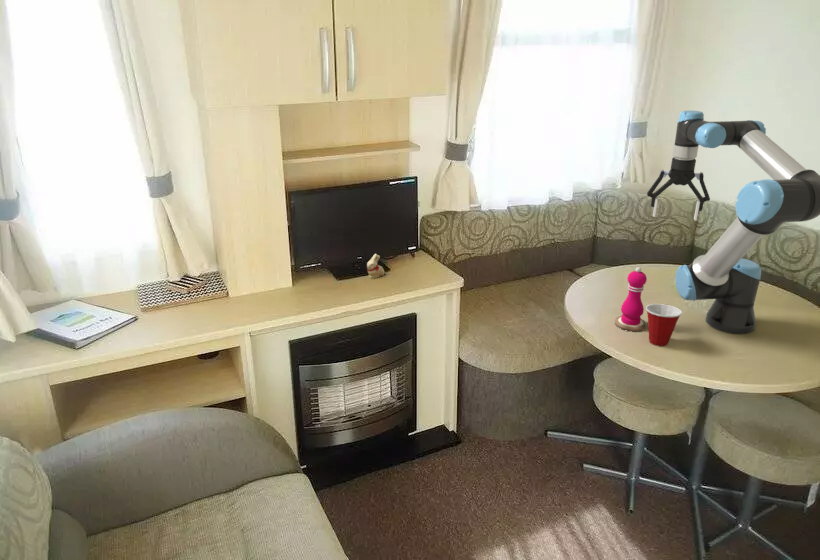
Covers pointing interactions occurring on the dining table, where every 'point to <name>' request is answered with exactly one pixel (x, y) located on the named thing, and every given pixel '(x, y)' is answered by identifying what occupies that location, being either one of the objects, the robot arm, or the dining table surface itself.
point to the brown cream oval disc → (630, 327)
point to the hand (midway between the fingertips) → (674, 217)
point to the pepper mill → (634, 298)
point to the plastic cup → (661, 323)
